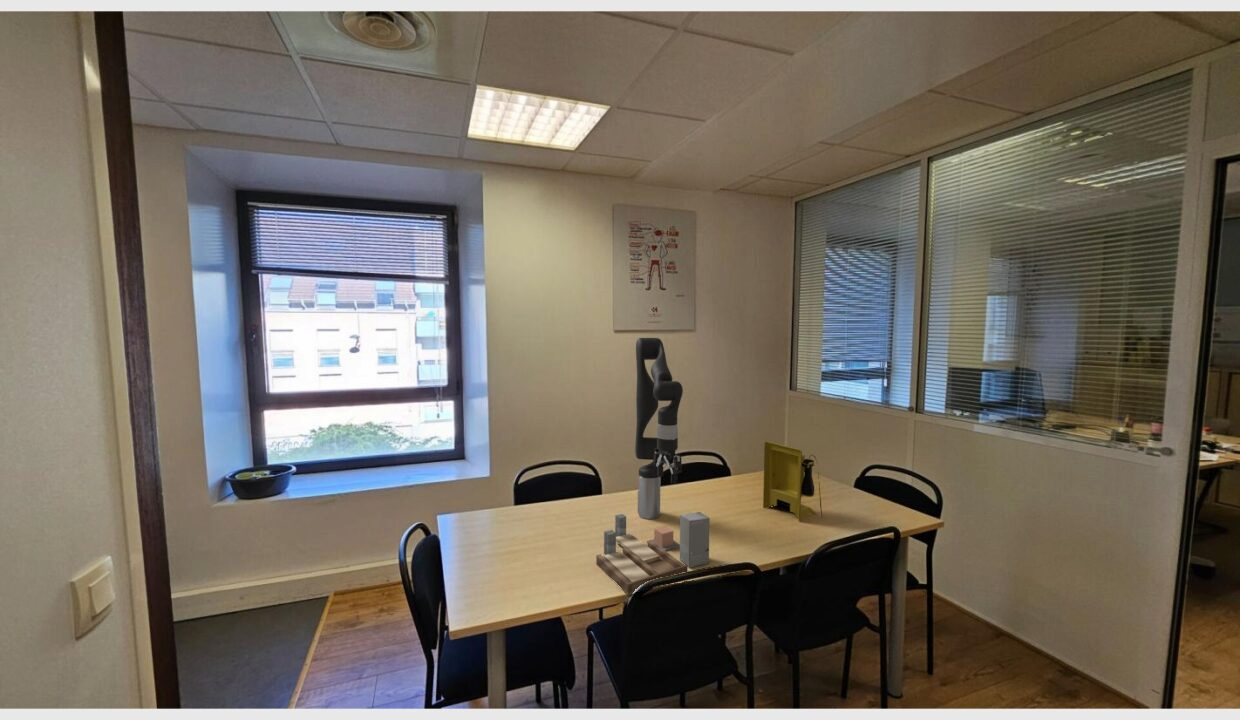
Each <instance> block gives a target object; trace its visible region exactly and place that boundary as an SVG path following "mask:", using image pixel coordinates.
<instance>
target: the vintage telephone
mask: <svg viewBox="0 0 1240 720" xmlns="http://www.w3.org/2000/svg"><path fill="white" fill-rule="evenodd" d="M763 451H764V456H763V457H764V459H763V469H762V470H763V472H762V473H763V501H762V502H763V503H762V508H763V507H771V506H774V505H775V506H774V507H778V506H781V505H784V506H786V507H789V512H790V513H793V514H795V516H796V517H797V520H798V519H799V520H798V522H799V521H800V522H801V519H803V518H802V517H804V518H806V517H805V516H807V517H809V516H811V515H810V514H812V515H816V516H818V517H819V515H817V514H816V511H814V510H813V508H811V507H810V506H807V505H804V504H802V498H803V497H807V498H812V497H813V496H814V495H815V484H814V479H813V467H815V460H816V464H817V465H819V464H818V460H817V458H816V456H815V455H813V454H810V455H809V458H806V455H805V453H804V454H803V451H802V450H801V448H796V447H791V446H788V445H784V444H779V443H775V442H771V441H766V442H764V450H763ZM812 456H813V457H814V458H815V460H813V459H810V458H811V457H812ZM817 473H818V474H817V475H818V476H817V477H818V478H820V473H819V471H818V472H817ZM820 489H821V488H820V483H818V490H819V493H818V494H821V490H820ZM819 507H820V508H819V509H820V512H821V513H820V514H821V515H823V510H822V500H821V496H819ZM771 508H772V507H771ZM813 513H814V514H813ZM808 515H809V516H808ZM800 518H801V519H800ZM819 518H820V519H822V516H821V517H819Z"/></svg>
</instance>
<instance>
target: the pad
mask: <svg viewBox="0 0 1240 720" xmlns="http://www.w3.org/2000/svg"><path fill="white" fill-rule="evenodd" d="M648 541H652V542H654V538H653V539H650V540H647V541H646V544H648ZM654 543H655V542H654ZM655 544H656V543H655ZM656 545H658V544H656ZM658 546H659V545H658ZM659 547H661V546H659ZM661 548H662V549H663V550H665V551H666V552H668V551H669V550H674V549H678V548H680V543H678V542H677V541H675V540H674V539H673V544H672V545H669V546H666V547H661Z"/></svg>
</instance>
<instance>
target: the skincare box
mask: <svg viewBox="0 0 1240 720" xmlns="http://www.w3.org/2000/svg"><path fill="white" fill-rule="evenodd" d="M679 520H680V521H679V544H680V547H679V561H680V562H681V563H683V564H684V565H687V568H694V567H699V566H701V565H706V564H709V562H710V517H709V516H707V515H706V514H704V513H702V512H701V511H698V512H689V513H683V514H682V513H681V514H680V515H679Z"/></svg>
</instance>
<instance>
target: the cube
mask: <svg viewBox="0 0 1240 720" xmlns="http://www.w3.org/2000/svg"><path fill="white" fill-rule="evenodd" d="M653 531H654V533H653V539H654V542H655V543H656V544H658V545H659V546H661V547H666V546H669V545H672V544H673V540H674V530H673V529H672V528H670V527H668V526H667V525H664V526H660V527H655V528H654V530H653Z"/></svg>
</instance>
